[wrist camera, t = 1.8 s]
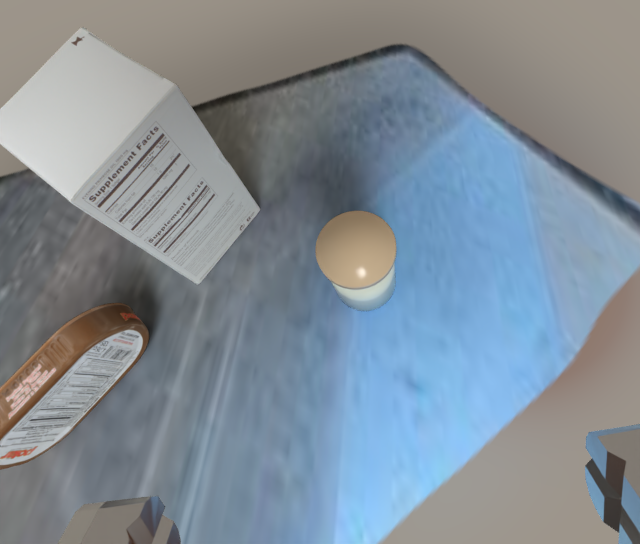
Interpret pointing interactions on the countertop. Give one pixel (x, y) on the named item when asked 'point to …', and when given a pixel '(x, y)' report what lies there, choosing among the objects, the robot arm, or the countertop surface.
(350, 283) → the jar
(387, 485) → the countertop surface
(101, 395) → the tin
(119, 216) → the supplement box
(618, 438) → the robot arm
